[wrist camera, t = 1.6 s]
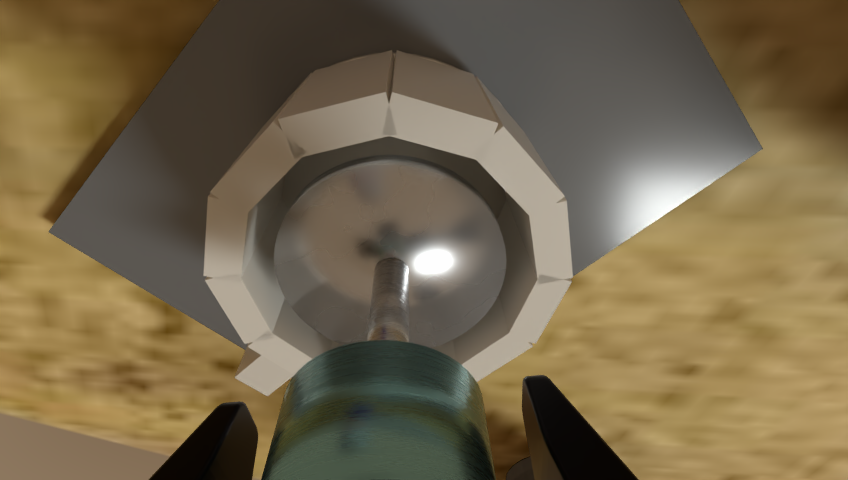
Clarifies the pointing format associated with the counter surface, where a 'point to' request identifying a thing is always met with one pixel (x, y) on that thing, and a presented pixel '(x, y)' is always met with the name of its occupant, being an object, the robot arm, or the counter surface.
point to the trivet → (445, 41)
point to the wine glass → (386, 323)
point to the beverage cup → (521, 471)
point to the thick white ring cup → (385, 135)
